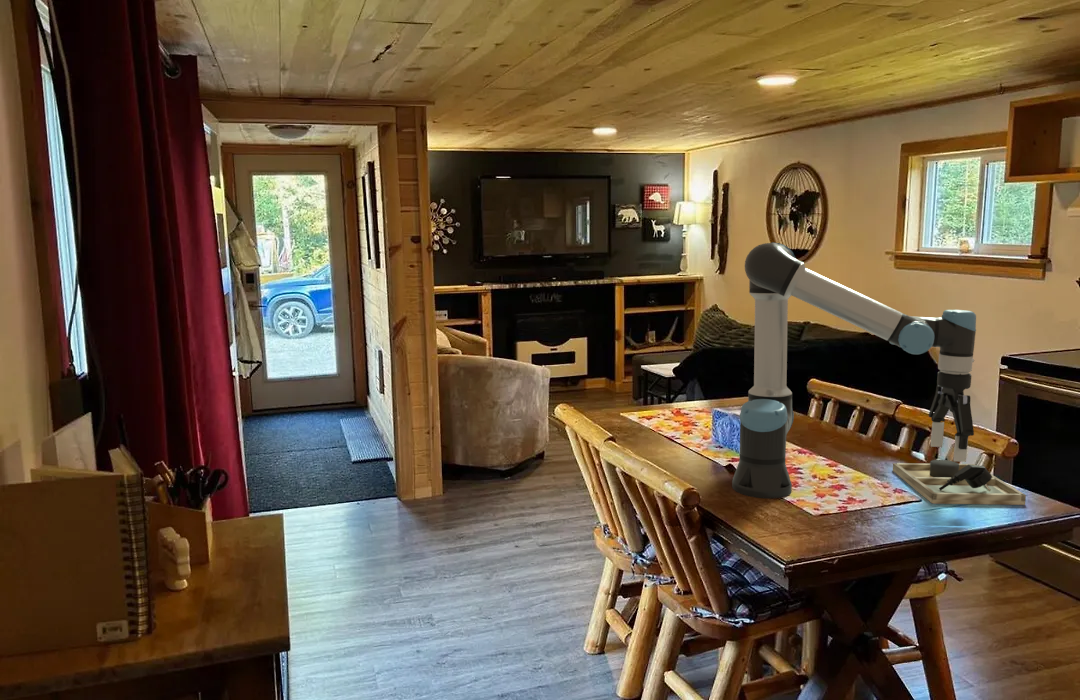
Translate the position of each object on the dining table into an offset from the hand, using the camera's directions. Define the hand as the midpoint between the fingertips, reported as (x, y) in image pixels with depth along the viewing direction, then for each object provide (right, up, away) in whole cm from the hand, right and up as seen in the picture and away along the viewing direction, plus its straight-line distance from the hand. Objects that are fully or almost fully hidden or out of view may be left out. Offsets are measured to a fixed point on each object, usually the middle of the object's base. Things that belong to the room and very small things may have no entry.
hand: (947, 453), depth 198 cm
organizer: (+6, -10, +7) cm, 14 cm away
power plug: (0, -12, +1) cm, 12 cm away
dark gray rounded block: (+6, -8, +14) cm, 17 cm away
